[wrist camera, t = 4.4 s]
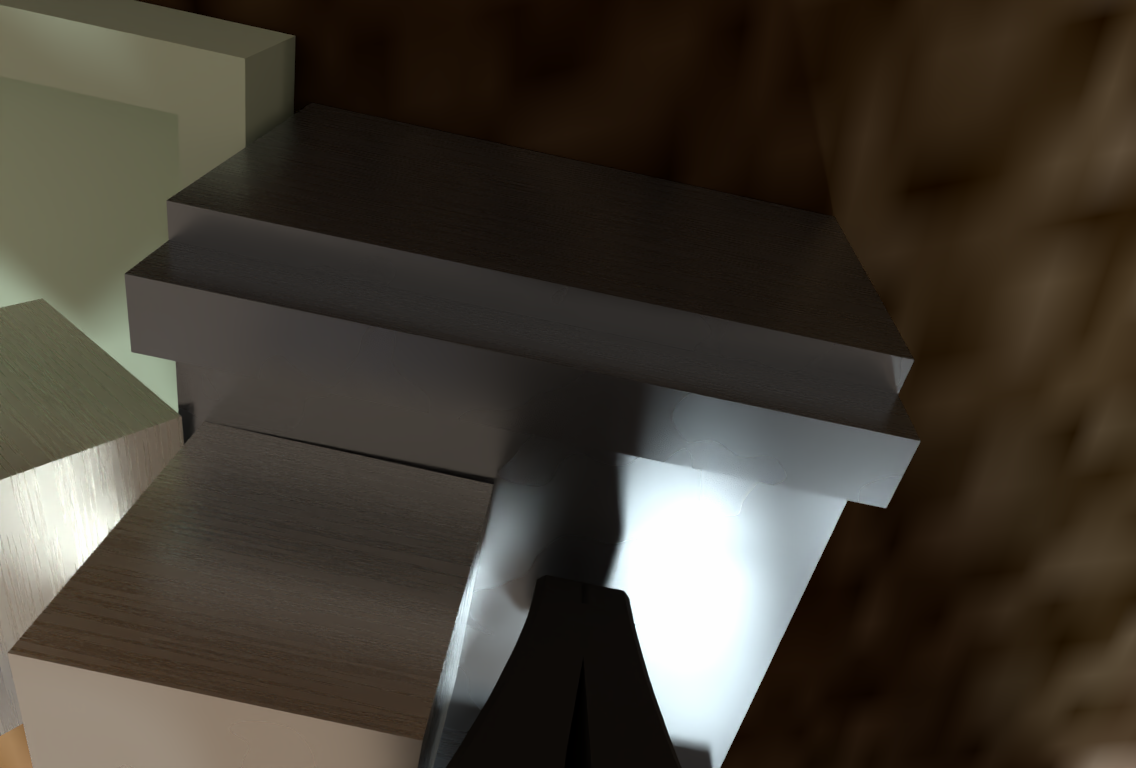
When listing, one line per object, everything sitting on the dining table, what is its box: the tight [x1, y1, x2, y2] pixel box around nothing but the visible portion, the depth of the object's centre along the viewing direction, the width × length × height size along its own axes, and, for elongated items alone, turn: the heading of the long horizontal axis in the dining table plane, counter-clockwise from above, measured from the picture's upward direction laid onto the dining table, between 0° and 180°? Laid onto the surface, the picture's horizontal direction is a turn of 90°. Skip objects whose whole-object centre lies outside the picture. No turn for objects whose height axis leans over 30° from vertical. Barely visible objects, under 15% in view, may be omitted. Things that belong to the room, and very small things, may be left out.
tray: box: [0, 0, 296, 413], centre depth 16 cm, size 10×12×2 cm
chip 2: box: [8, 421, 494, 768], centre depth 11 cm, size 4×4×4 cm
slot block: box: [124, 103, 920, 768], centre depth 14 cm, size 9×10×6 cm
